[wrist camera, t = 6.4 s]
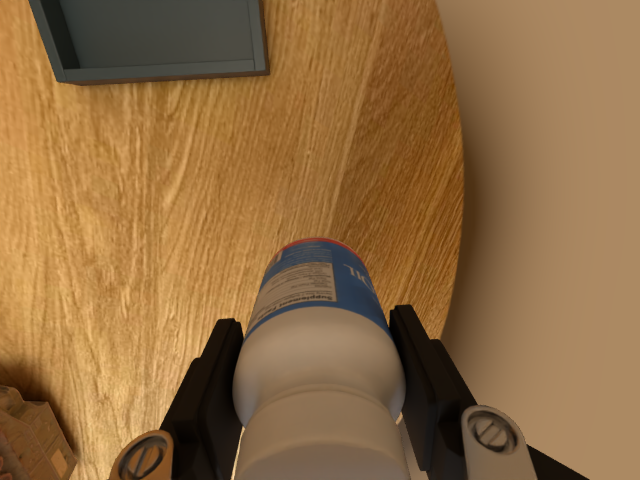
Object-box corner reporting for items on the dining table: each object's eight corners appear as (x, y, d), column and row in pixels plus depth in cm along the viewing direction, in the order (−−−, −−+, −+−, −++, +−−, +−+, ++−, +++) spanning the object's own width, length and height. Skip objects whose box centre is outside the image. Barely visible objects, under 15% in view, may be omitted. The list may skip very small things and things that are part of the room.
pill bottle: (378, 307, 16) (462, 542, 7) (286, 333, 17) (258, 585, 8) (351, 217, 14) (422, 390, 5) (247, 250, 15) (148, 460, 6)
